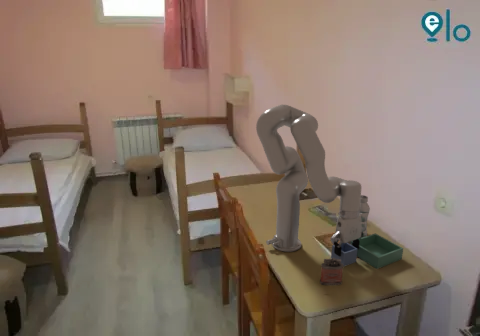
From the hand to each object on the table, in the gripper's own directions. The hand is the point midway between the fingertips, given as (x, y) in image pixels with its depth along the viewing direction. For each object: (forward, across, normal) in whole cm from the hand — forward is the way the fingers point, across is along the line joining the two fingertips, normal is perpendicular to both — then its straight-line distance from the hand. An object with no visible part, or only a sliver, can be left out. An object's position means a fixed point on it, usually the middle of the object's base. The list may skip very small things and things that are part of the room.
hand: (346, 251), depth 154 cm
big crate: (+4, +13, -3) cm, 14 cm away
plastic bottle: (+4, +18, +11) cm, 22 cm away
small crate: (+4, -1, +1) cm, 4 cm away
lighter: (+4, -16, -8) cm, 18 cm away
